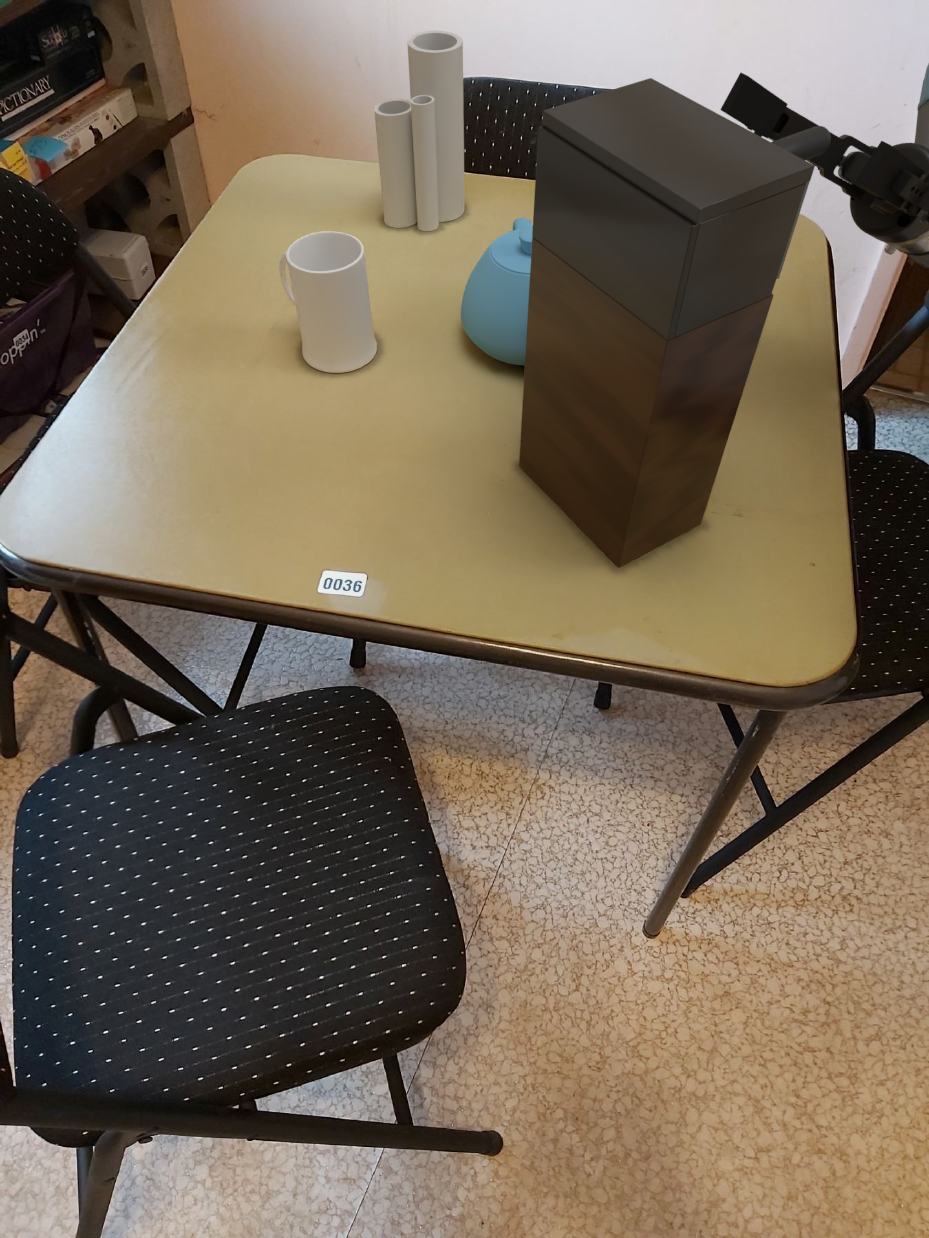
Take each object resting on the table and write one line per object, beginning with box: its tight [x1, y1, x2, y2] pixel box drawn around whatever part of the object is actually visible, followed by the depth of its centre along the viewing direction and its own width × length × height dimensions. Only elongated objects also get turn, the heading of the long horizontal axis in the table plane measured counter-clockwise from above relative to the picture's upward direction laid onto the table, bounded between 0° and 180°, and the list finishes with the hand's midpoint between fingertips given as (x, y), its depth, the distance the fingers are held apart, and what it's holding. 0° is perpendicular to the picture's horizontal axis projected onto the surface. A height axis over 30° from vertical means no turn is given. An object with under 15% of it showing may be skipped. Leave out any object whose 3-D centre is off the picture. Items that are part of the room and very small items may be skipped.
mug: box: [278, 230, 378, 374], centre depth 92 cm, size 12×8×12 cm
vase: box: [373, 30, 466, 232], centre depth 105 cm, size 11×7×20 cm, turn 126°
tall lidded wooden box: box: [518, 77, 816, 568], centre depth 69 cm, size 10×16×33 cm, turn 32°
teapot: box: [460, 217, 533, 366], centre depth 92 cm, size 20×20×13 cm
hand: (798, 126), depth 61 cm, fingers open, 13 cm apart
